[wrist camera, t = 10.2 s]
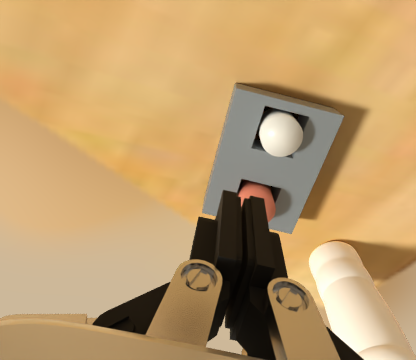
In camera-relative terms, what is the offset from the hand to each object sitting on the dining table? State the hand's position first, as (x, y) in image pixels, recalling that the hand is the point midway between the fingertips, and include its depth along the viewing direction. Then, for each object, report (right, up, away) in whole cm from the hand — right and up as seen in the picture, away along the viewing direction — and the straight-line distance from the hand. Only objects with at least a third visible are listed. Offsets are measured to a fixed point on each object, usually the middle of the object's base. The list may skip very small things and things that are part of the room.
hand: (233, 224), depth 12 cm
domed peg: (+7, +8, +24) cm, 26 cm away
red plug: (+5, 0, +27) cm, 28 cm away
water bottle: (+18, -10, +33) cm, 39 cm away
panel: (+6, +5, +27) cm, 28 cm away
